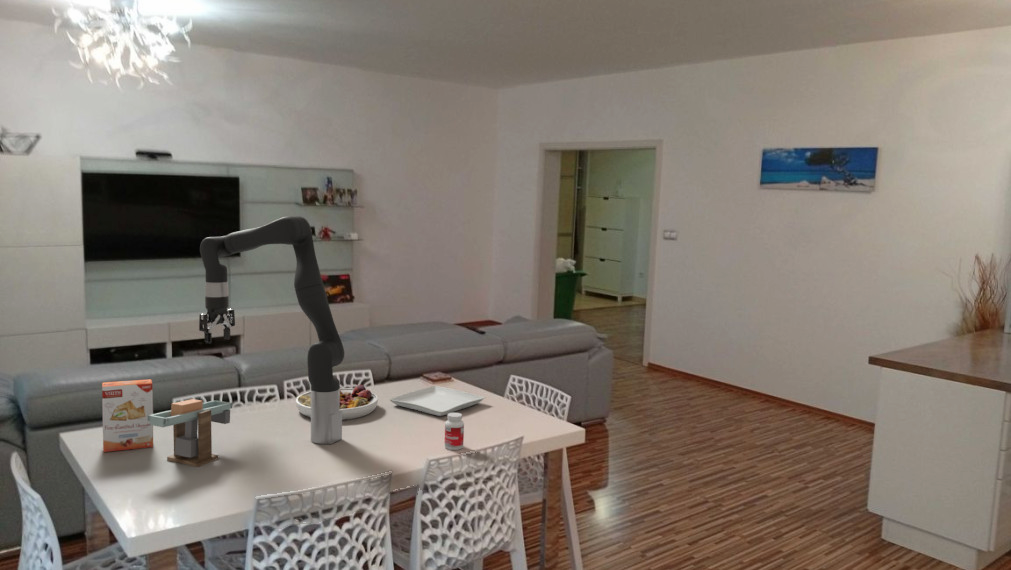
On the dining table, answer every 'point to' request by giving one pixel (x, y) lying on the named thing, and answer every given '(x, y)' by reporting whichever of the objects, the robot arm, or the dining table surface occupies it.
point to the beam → (191, 424)
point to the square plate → (437, 400)
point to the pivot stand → (203, 441)
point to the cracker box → (127, 415)
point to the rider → (186, 406)
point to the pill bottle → (454, 432)
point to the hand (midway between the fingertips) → (217, 341)
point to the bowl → (345, 402)
